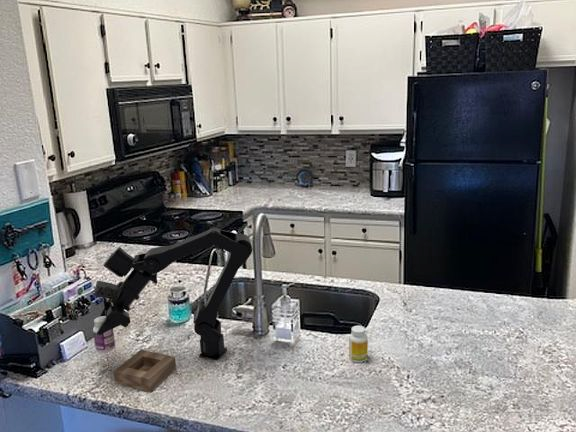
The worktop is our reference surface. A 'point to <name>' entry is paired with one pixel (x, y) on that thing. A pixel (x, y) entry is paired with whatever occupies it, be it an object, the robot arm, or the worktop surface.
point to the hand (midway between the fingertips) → (97, 329)
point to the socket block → (145, 370)
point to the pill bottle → (103, 337)
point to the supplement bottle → (358, 344)
